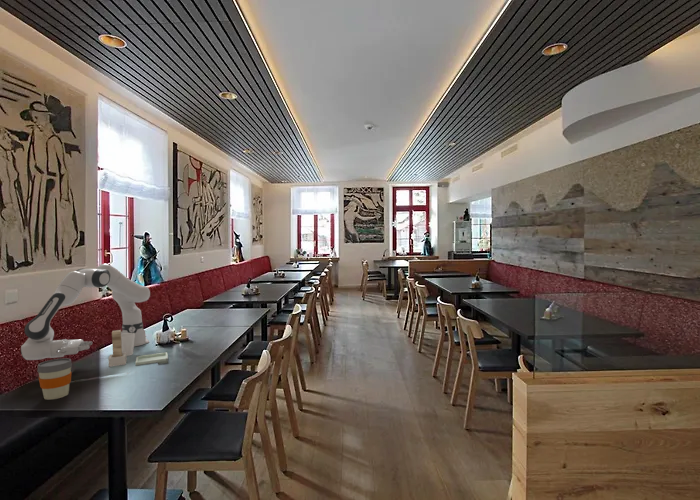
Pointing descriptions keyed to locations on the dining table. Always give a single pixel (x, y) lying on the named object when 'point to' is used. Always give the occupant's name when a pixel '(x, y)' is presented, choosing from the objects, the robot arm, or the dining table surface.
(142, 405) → the dining table surface
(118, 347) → the tan wooden block
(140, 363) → the tray
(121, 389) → the dining table surface
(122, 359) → the white square container
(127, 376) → the dining table surface
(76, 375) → the dining table surface
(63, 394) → the reusable coffee cup
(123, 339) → the foam cup
